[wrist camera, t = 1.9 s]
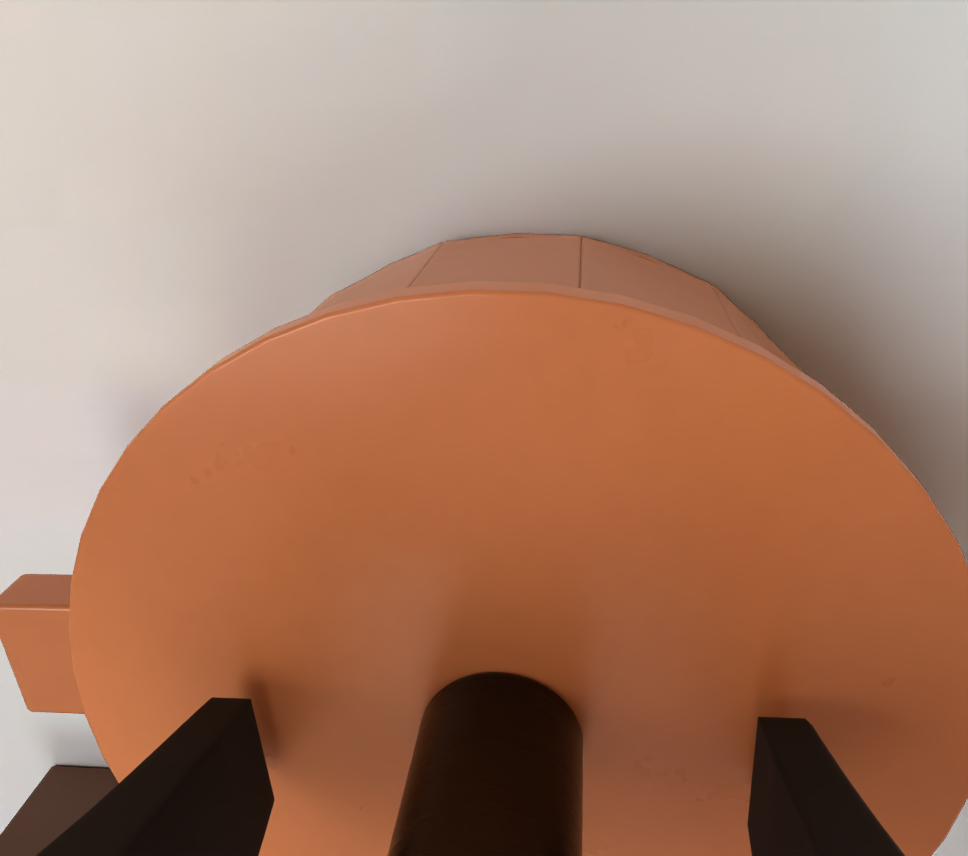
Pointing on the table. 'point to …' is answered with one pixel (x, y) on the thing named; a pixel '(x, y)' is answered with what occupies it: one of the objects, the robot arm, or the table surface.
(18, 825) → the chocolate bar
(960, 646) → the lid
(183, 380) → the table surface
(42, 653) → the pan
